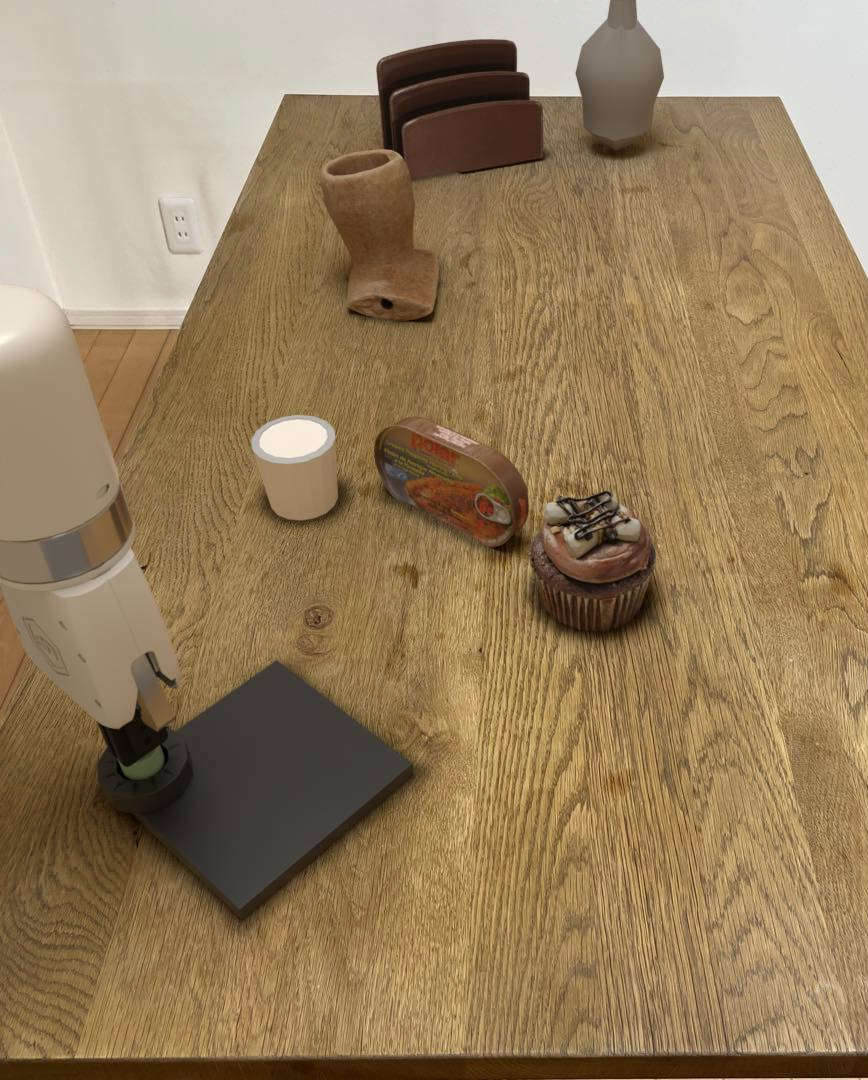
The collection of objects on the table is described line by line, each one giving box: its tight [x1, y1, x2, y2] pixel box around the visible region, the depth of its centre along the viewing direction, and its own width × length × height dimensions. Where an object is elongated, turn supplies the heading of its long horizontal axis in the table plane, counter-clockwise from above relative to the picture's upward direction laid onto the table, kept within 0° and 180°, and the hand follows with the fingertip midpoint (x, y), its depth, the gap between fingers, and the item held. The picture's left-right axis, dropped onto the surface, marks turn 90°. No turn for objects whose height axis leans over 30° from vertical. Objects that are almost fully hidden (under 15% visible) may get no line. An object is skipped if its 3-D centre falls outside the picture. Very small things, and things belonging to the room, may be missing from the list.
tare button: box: [118, 745, 165, 781], centre depth 70 cm, size 3×3×2 cm
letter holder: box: [375, 38, 545, 180], centre depth 147 cm, size 10×20×14 cm, turn 114°
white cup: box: [250, 414, 339, 521], centre depth 93 cm, size 7×7×7 cm
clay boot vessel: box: [319, 148, 440, 322], centre depth 118 cm, size 15×12×15 cm
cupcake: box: [528, 490, 658, 633], centre depth 83 cm, size 10×10×10 cm
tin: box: [373, 415, 530, 548], centre depth 91 cm, size 15×3×8 cm, turn 53°
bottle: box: [575, 0, 665, 152], centre depth 144 cm, size 11×11×30 cm
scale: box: [96, 660, 414, 921], centre depth 72 cm, size 15×15×4 cm
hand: (140, 746), depth 69 cm, fingers closed
